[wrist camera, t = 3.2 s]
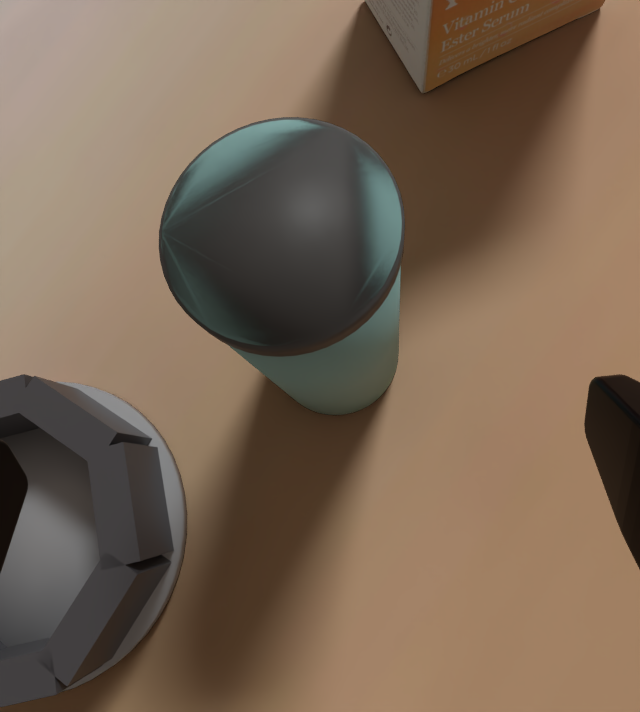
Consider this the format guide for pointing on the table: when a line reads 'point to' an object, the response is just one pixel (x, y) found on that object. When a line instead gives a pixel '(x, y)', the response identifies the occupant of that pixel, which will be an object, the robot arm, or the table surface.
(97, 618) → the collar
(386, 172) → the plug
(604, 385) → the robot arm
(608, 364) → the table surface
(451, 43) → the small box
